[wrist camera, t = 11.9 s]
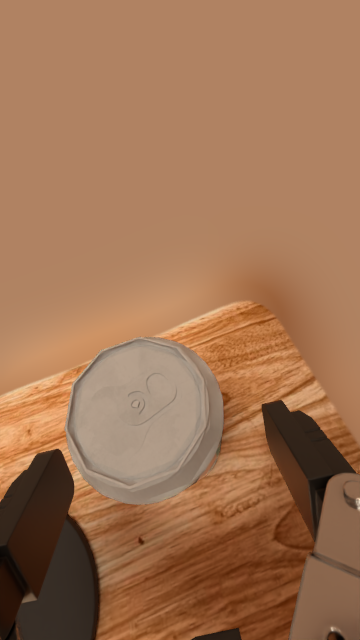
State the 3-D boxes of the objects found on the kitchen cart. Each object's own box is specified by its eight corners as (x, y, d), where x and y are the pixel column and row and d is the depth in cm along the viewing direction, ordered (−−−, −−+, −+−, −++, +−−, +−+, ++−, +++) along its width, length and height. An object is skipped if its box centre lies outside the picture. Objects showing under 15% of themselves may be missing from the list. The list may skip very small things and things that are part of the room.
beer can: (132, 432, 19) (24, 388, 8) (189, 388, 20) (157, 297, 9) (174, 502, 17) (101, 561, 6) (236, 449, 18) (264, 421, 7)
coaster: (135, 571, 16) (132, 575, 15) (4, 830, 12) (-5, 846, 12) (12, 467, 19) (6, 467, 18) (-119, 649, 15) (-131, 655, 15)
